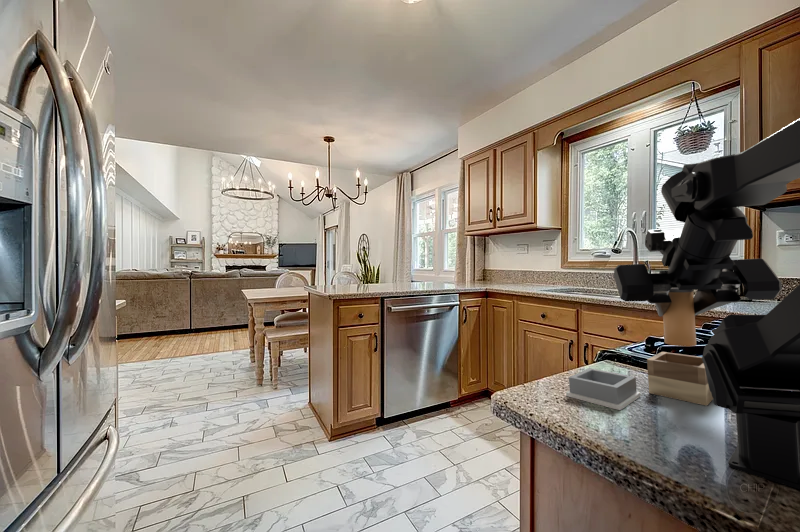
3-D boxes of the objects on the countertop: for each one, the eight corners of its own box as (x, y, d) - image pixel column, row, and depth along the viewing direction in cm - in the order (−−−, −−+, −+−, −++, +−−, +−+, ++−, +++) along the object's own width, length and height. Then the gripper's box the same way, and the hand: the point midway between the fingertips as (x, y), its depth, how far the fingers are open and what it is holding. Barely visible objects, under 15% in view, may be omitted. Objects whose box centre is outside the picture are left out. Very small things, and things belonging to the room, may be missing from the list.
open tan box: (706, 405, 50) (704, 368, 50) (649, 393, 56) (647, 359, 56) (718, 393, 54) (716, 358, 54) (663, 382, 60) (662, 351, 60)
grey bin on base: (620, 410, 50) (618, 389, 50) (566, 395, 56) (565, 377, 56) (640, 396, 55) (639, 376, 55) (589, 384, 61) (588, 367, 61)
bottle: (692, 347, 53) (688, 282, 53) (661, 343, 56) (657, 282, 56) (699, 343, 55) (695, 281, 55) (669, 339, 58) (665, 281, 58)
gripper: (762, 202, 49) (723, 276, 59) (612, 215, 55) (601, 280, 65) (810, 255, 41) (756, 330, 52) (630, 264, 47) (614, 329, 58)
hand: (674, 314), depth 57 cm, fingers closed on bottle, 4 cm apart
